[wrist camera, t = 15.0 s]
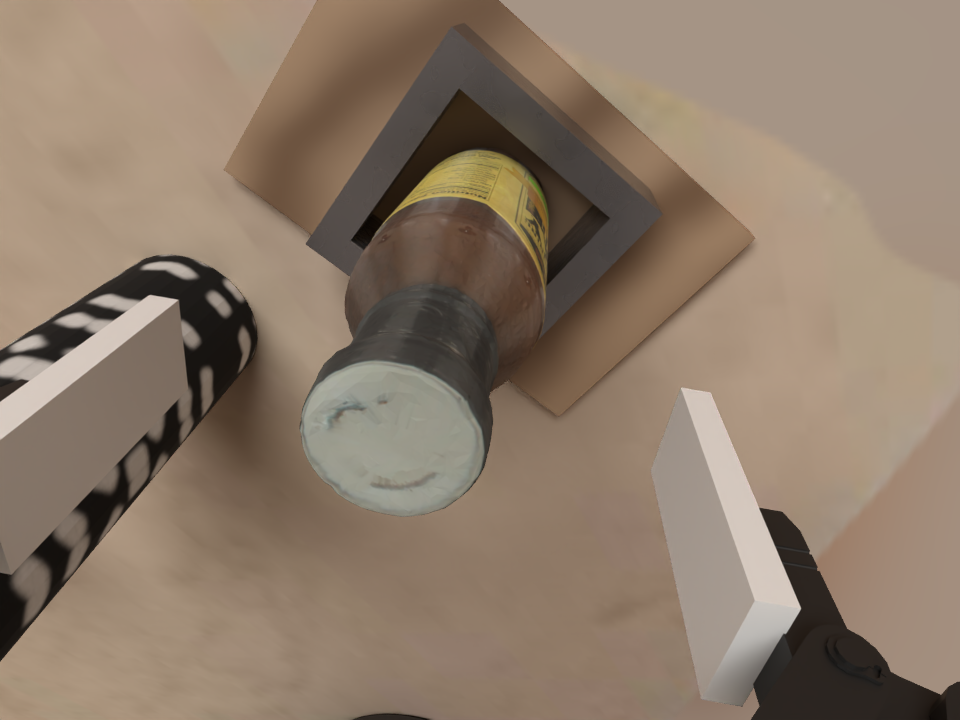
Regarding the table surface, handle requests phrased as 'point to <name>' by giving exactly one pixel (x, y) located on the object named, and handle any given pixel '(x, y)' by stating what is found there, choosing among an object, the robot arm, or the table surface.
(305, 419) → the sauce bottle
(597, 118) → the caddy board
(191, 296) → the spotted tube
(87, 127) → the table surface
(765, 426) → the table surface
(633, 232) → the bottle socket
